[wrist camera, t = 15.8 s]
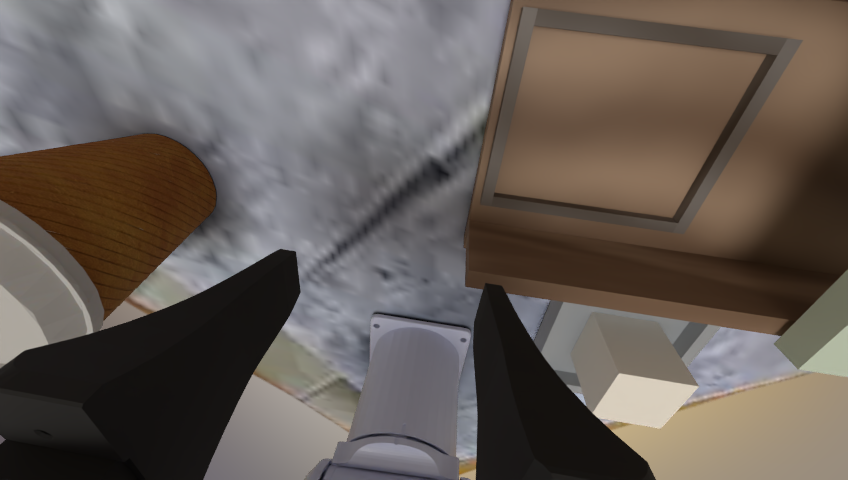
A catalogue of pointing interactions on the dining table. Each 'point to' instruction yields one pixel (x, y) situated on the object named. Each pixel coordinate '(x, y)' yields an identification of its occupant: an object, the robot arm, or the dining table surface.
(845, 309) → the cover
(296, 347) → the dining table surface
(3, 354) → the disposable coffee cup
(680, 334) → the tray
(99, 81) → the dining table surface
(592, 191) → the puzzle board
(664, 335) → the block
